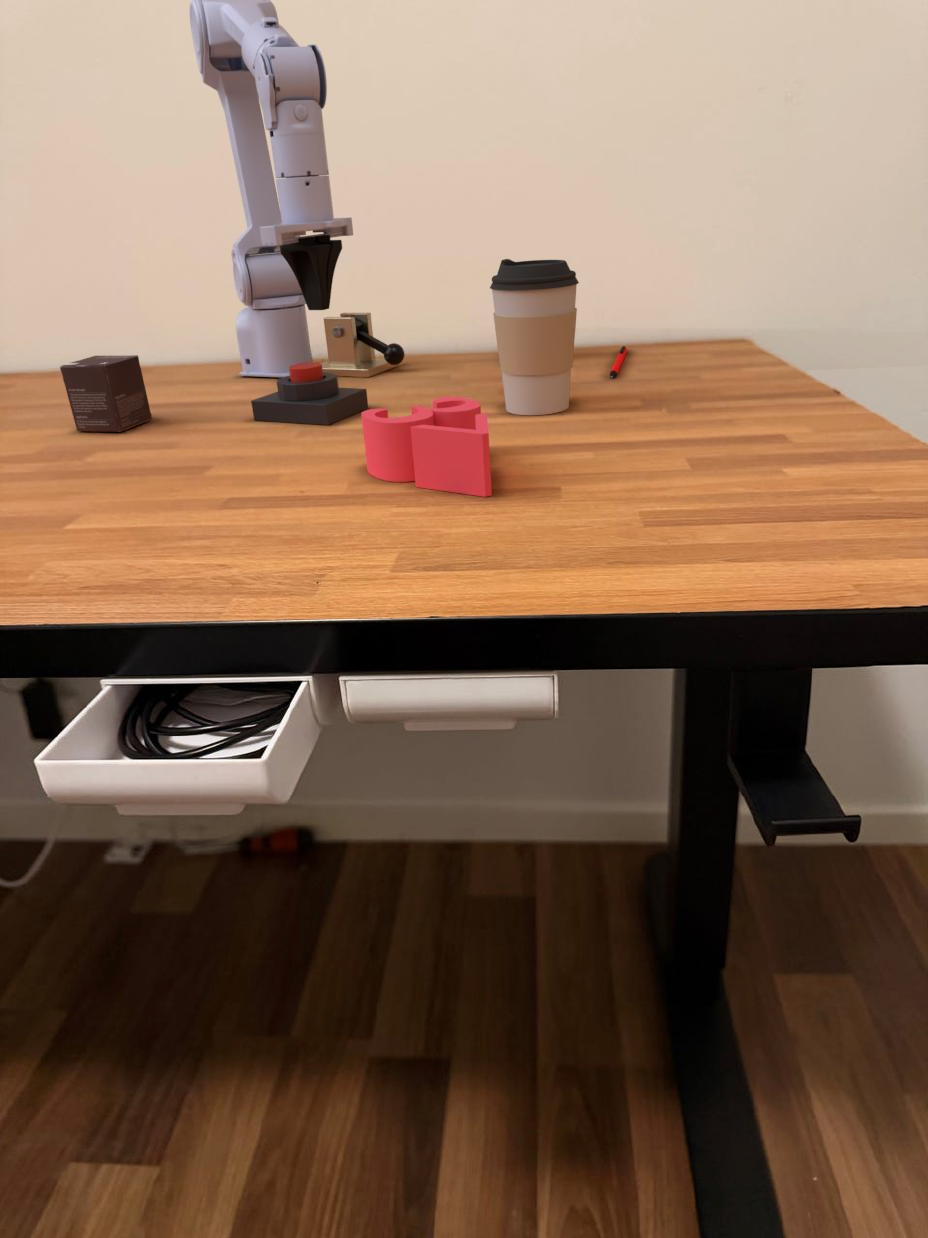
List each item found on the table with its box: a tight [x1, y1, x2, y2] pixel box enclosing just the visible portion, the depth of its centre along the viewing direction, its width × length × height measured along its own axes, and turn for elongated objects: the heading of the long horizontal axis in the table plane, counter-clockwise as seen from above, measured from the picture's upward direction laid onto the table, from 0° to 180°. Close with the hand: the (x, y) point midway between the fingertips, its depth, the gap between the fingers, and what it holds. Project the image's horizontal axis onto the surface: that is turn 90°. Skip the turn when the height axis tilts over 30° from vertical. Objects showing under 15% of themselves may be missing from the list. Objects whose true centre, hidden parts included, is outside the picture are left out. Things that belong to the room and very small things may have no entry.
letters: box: [360, 396, 493, 498], centre depth 75 cm, size 14×10×5 cm
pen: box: [609, 345, 628, 379], centre depth 116 cm, size 1×19×1 cm, turn 167°
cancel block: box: [250, 373, 369, 426], centre depth 100 cm, size 10×8×4 cm
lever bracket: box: [320, 312, 400, 378], centre depth 122 cm, size 10×8×7 cm
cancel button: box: [289, 362, 324, 382], centre depth 99 cm, size 4×4×2 cm
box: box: [59, 354, 153, 433], centre depth 100 cm, size 6×6×7 cm
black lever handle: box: [342, 315, 406, 365], centre depth 121 cm, size 10×3×3 cm, turn 63°
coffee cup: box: [489, 258, 580, 416], centre depth 94 cm, size 9×9×15 cm
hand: (318, 309), depth 103 cm, fingers closed
